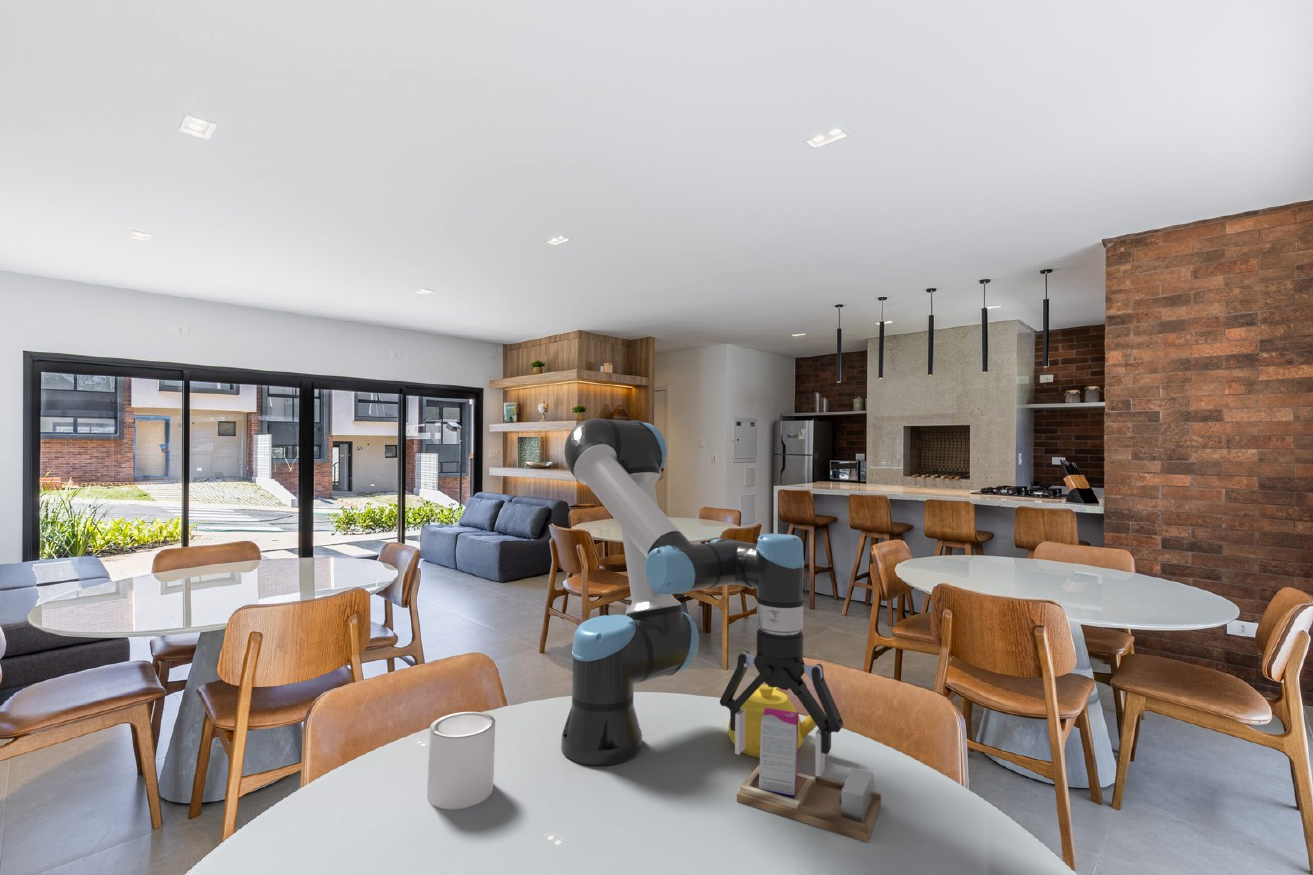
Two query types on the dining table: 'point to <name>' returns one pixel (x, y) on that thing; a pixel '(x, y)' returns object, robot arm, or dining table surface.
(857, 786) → the block
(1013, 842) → the dining table surface
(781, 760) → the supplement box
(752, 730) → the teapot
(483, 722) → the mug
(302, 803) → the dining table surface
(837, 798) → the board
